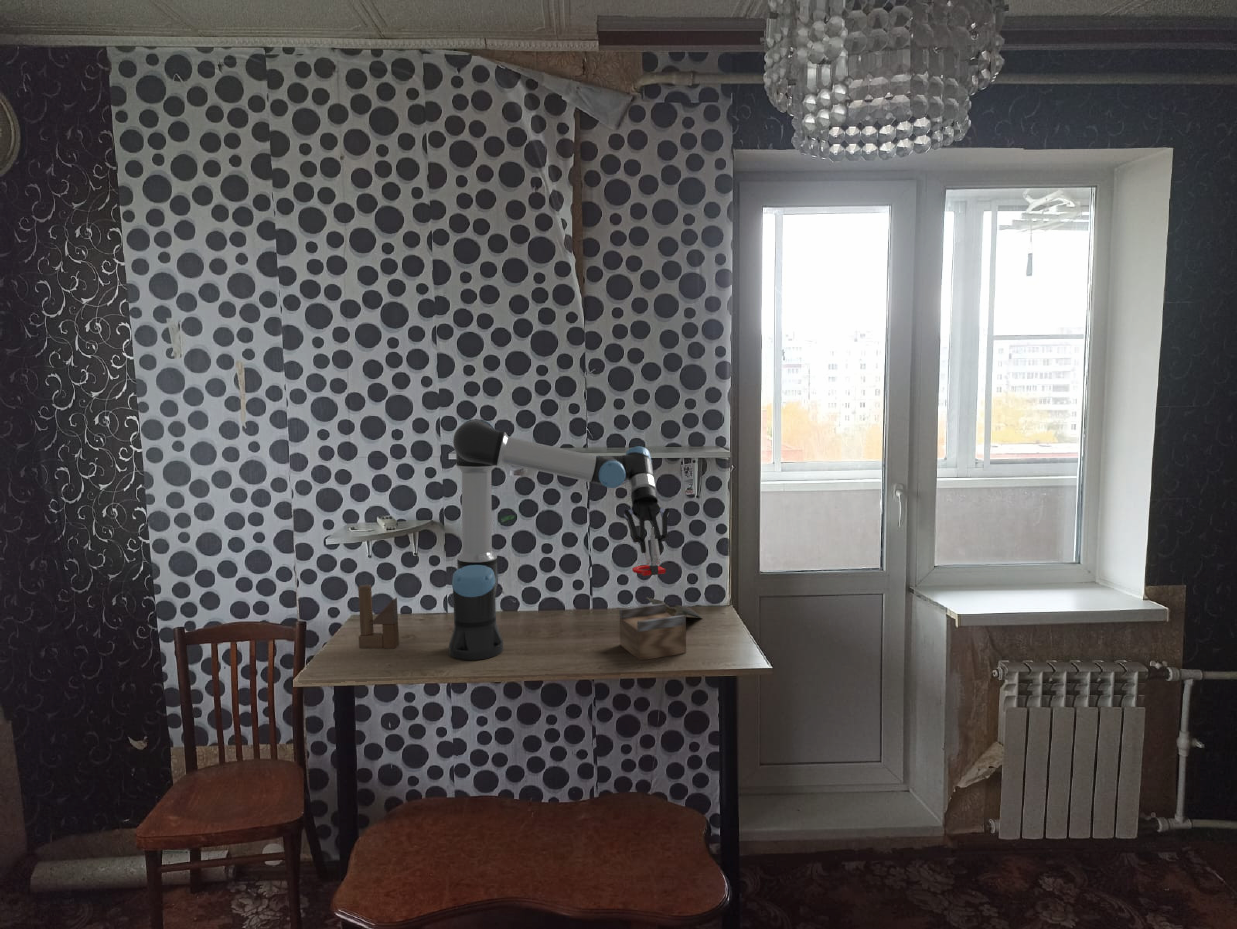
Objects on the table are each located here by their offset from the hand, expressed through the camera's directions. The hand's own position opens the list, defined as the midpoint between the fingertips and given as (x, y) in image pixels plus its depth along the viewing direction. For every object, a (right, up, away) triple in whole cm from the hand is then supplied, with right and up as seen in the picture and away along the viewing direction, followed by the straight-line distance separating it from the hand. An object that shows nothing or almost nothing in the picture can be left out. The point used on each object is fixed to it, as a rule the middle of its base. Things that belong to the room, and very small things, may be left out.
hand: (653, 561), depth 215 cm
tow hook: (-1, -4, +4) cm, 6 cm away
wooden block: (-79, -26, +13) cm, 84 cm away
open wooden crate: (0, -25, +7) cm, 26 cm away
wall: (+8, -23, +31) cm, 40 cm away
